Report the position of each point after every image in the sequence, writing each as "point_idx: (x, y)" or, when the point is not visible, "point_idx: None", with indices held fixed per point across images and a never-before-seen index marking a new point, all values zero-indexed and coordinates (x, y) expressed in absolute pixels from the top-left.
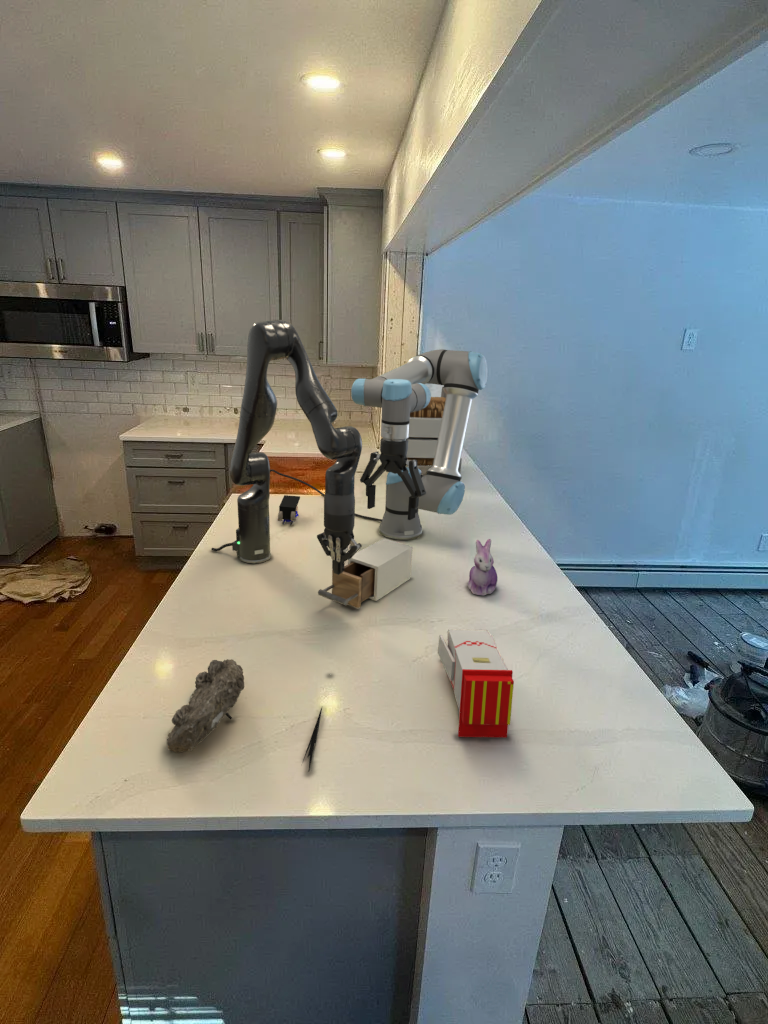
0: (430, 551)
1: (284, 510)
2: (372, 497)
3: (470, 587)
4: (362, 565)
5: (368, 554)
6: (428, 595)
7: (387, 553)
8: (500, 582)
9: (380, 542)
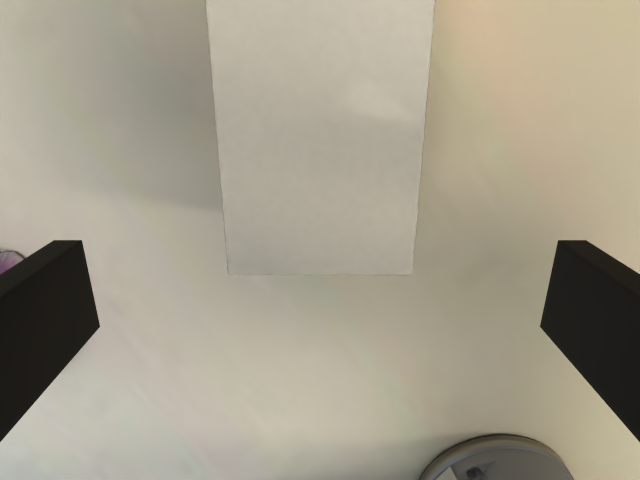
0: (324, 432)
1: None
2: (621, 351)
3: None
4: None
5: (355, 14)
6: (119, 142)
7: (274, 108)
8: None
9: (393, 213)
